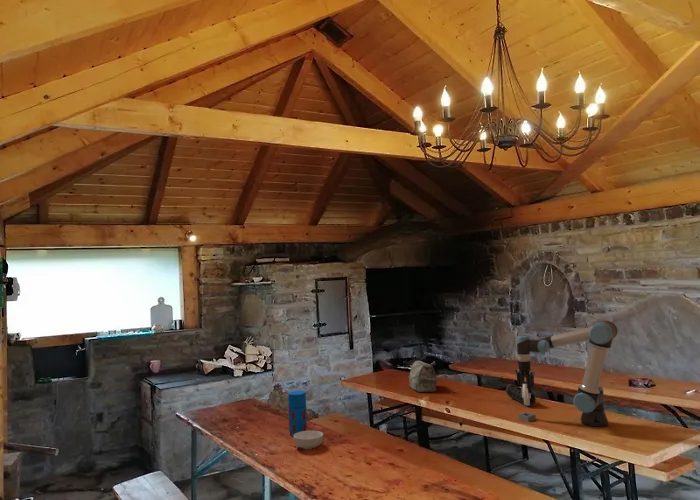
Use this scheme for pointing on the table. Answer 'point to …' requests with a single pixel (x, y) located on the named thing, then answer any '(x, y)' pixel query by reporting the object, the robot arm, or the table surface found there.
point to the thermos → (297, 412)
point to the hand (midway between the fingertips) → (526, 397)
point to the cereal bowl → (308, 439)
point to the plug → (525, 395)
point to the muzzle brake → (518, 394)
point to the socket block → (527, 416)
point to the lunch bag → (422, 377)
